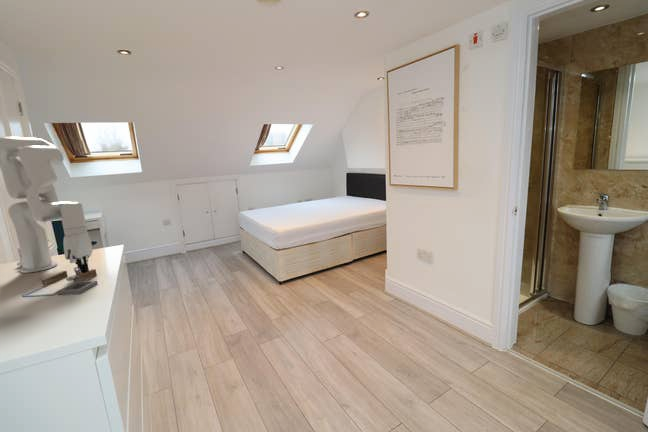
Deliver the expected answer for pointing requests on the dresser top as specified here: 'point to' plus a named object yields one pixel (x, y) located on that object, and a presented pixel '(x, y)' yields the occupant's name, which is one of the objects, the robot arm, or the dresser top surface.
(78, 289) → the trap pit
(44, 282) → the walled tunnel
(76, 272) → the strap clip
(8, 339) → the dresser top surface
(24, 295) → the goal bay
